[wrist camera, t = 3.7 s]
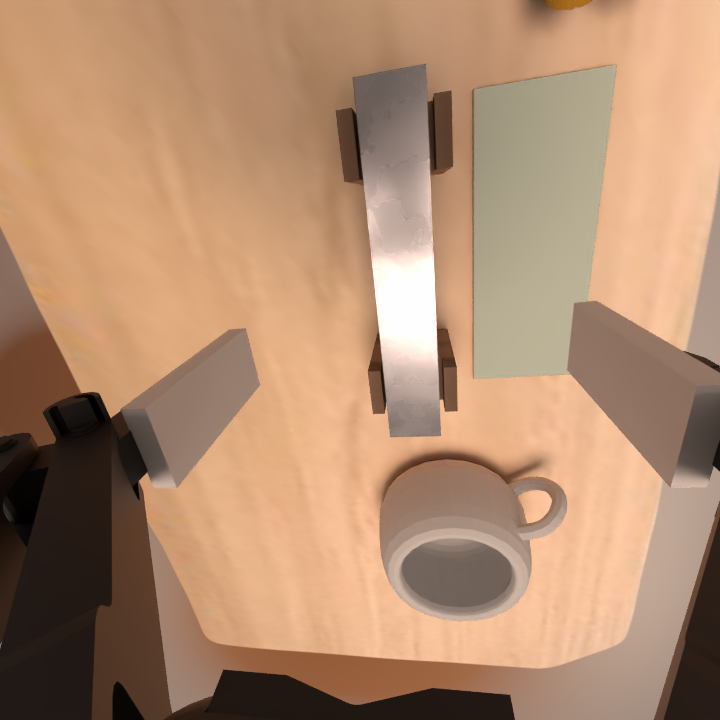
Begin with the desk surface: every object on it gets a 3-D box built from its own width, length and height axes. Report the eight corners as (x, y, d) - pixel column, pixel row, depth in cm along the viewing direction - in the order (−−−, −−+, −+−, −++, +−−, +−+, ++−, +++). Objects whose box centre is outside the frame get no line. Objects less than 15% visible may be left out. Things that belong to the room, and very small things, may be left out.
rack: (381, 368, 40) (373, 413, 32) (356, 132, 31) (335, 110, 23) (448, 365, 39) (457, 411, 31) (441, 118, 30) (451, 90, 22)
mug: (429, 567, 51) (433, 648, 42) (354, 487, 47) (340, 557, 38) (582, 508, 44) (626, 589, 35) (509, 406, 40) (537, 469, 31)
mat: (473, 376, 39) (473, 379, 38) (473, 90, 29) (474, 89, 29) (576, 372, 37) (578, 374, 37) (613, 66, 27) (617, 64, 27)
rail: (392, 410, 34) (390, 437, 30) (361, 94, 24) (352, 77, 21) (437, 409, 33) (440, 435, 29) (424, 83, 24) (425, 64, 20)
